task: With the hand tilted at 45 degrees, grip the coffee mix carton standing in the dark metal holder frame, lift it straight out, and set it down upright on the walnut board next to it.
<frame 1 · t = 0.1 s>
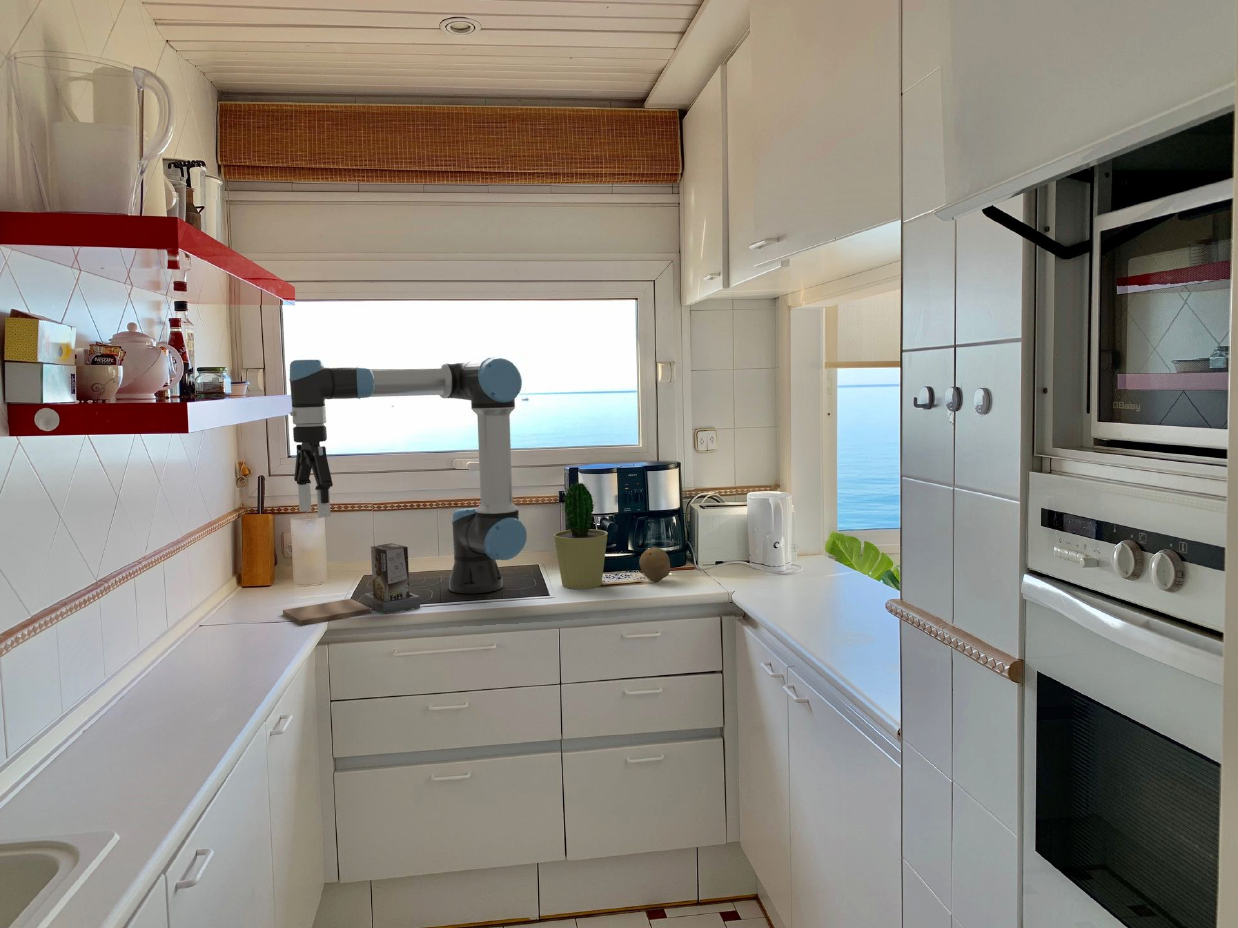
hand: (314, 514, 221), 28 cm above the worktop, tool pointing down, fingers open, 13 cm apart
coconut: (655, 582, 266), on the worktop
holder: (392, 606, 244), on the worktop
coffee box: (392, 607, 244), resting in holder
board: (326, 613, 238), on the worktop
potted cactus: (582, 585, 264), on the worktop
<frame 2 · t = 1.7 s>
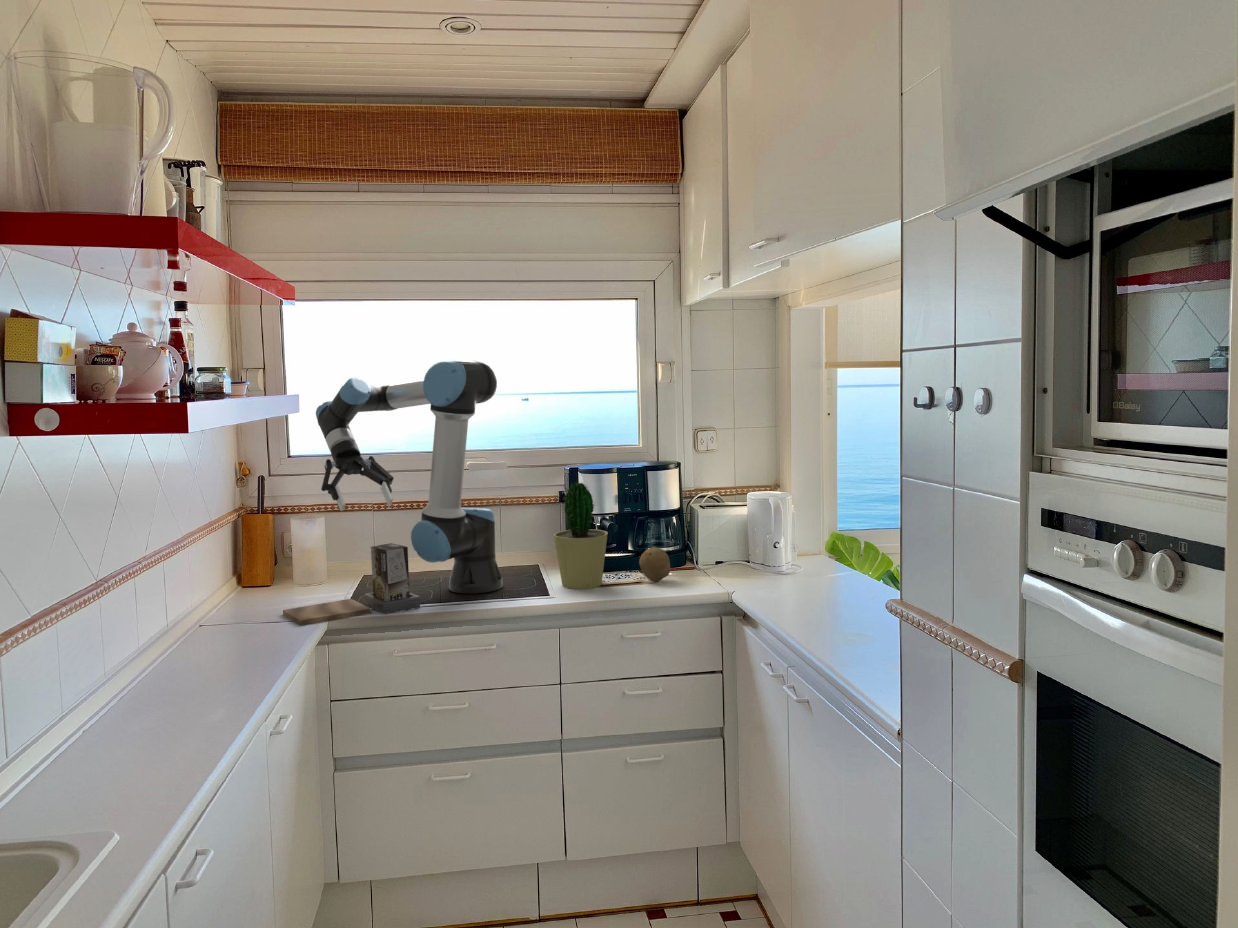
hand: (367, 505, 252), 26 cm above the worktop, tool tilted 45°, fingers open, 13 cm apart
nothing on the worktop moved.
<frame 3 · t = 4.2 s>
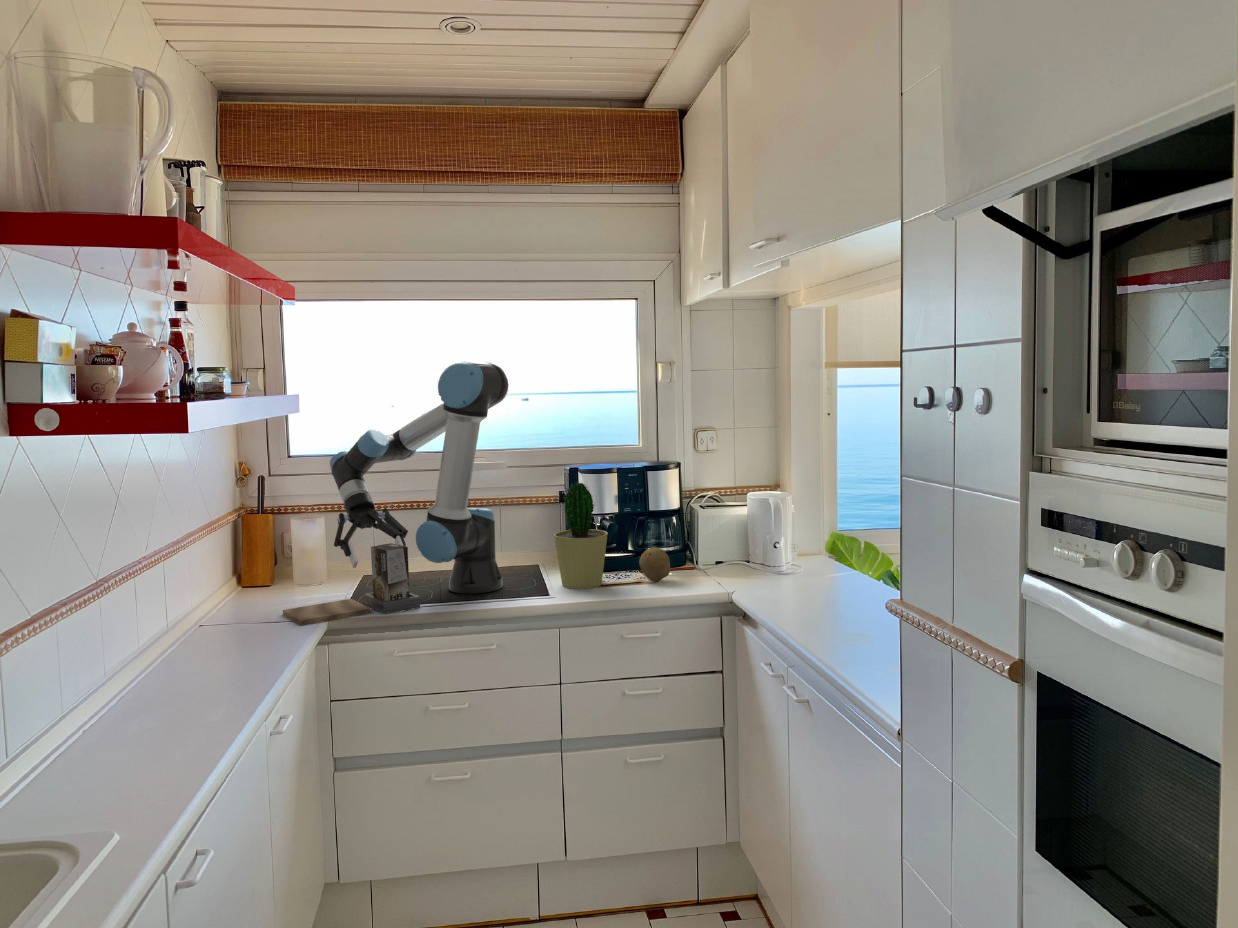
hand: (380, 561, 246), 11 cm above the worktop, tool tilted 45°, fingers open, 13 cm apart
nothing on the worktop moved.
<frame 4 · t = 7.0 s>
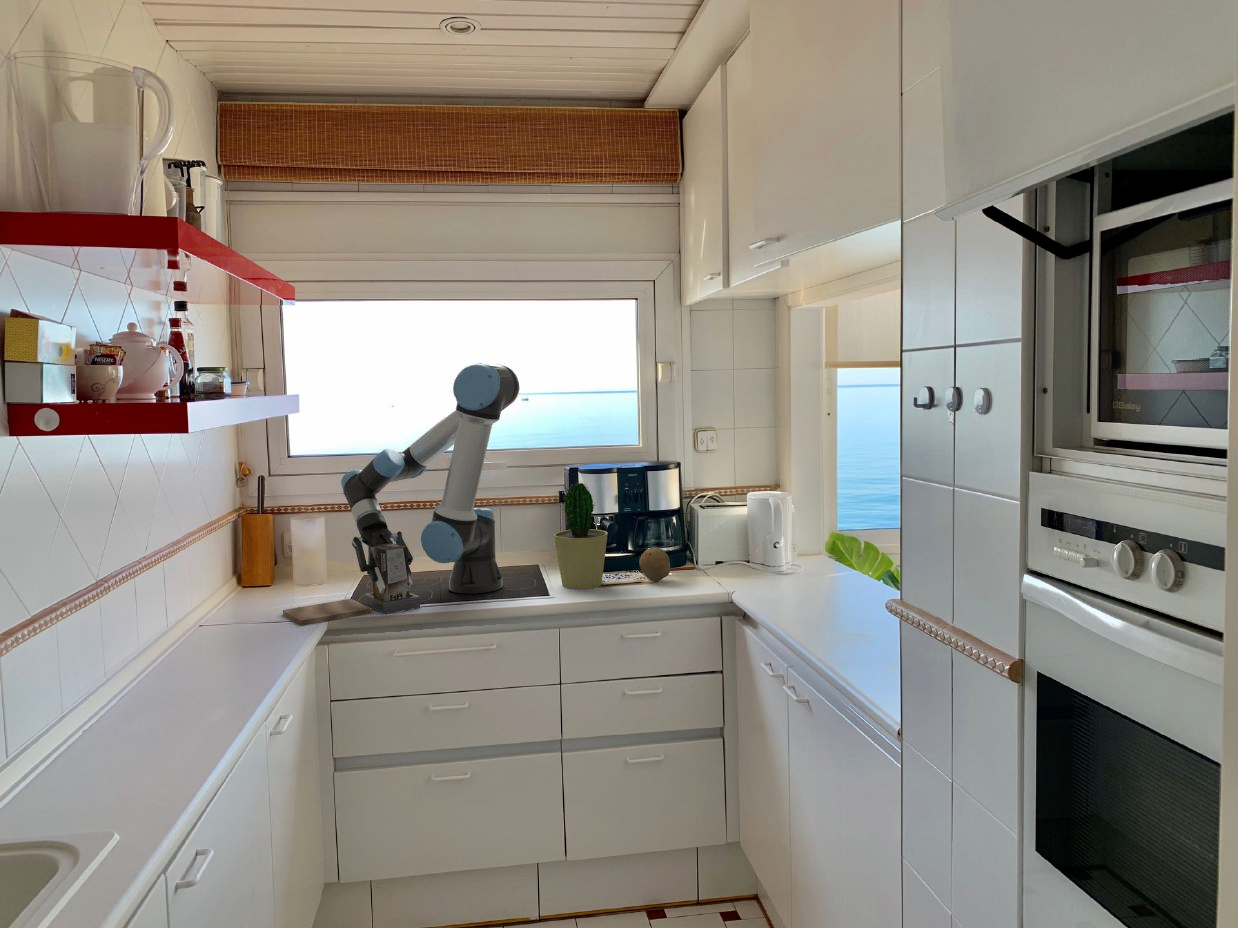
hand: (396, 588, 241), 5 cm above the worktop, tool tilted 45°, fingers closed on coffee box, 7 cm apart
coffee box: (392, 606, 244), resting in holder, touching gripper
everything else where it was.
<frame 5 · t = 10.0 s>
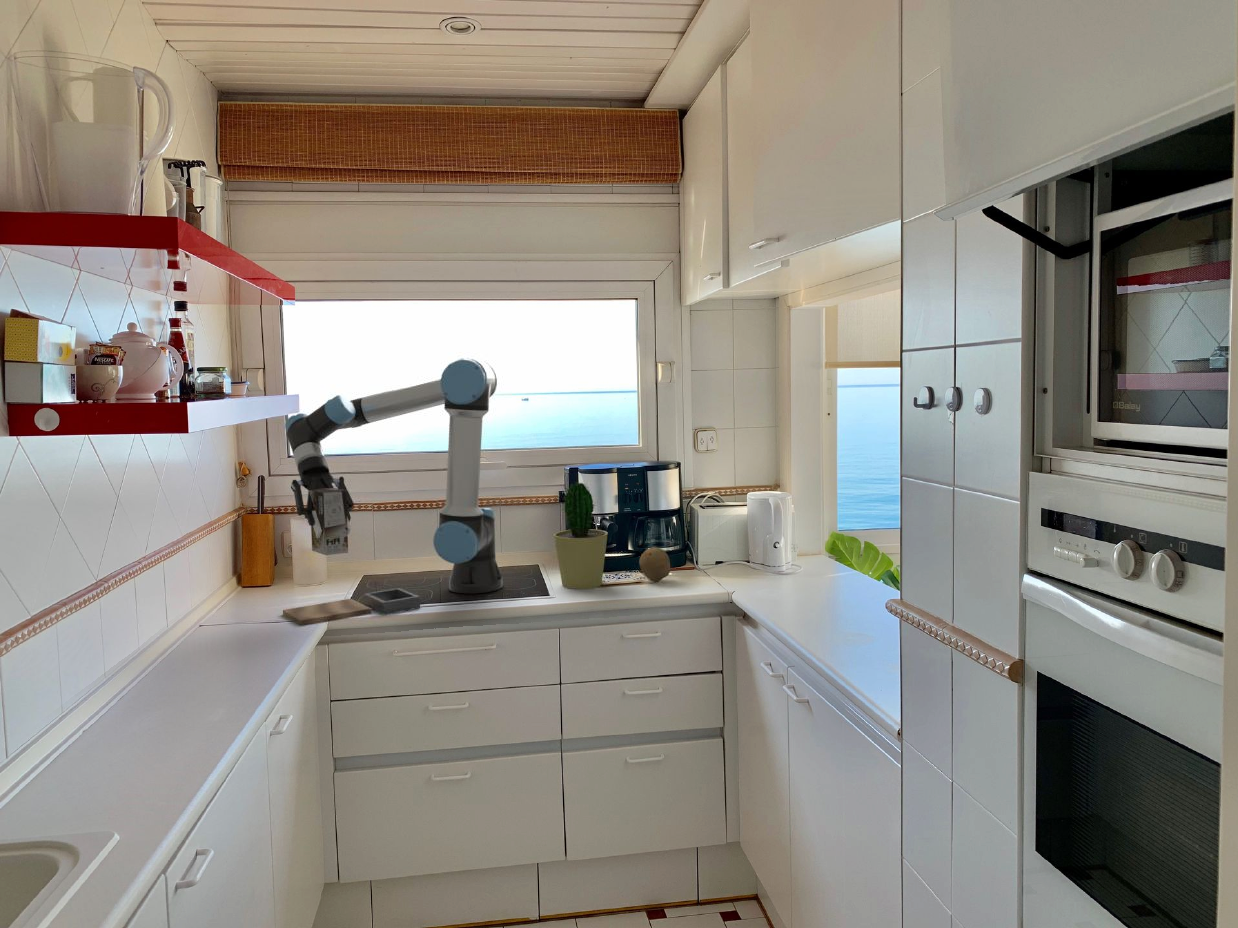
hand: (333, 532, 234), 21 cm above the worktop, tool tilted 45°, fingers closed on coffee box, 7 cm apart
coffee box: (330, 552, 238), point 16 cm above the worktop, touching gripper
everything else where it was.
when the fingers open (8 cm above the worktop, at t = 13.3 s): coffee box drops 1 cm, resting on board.
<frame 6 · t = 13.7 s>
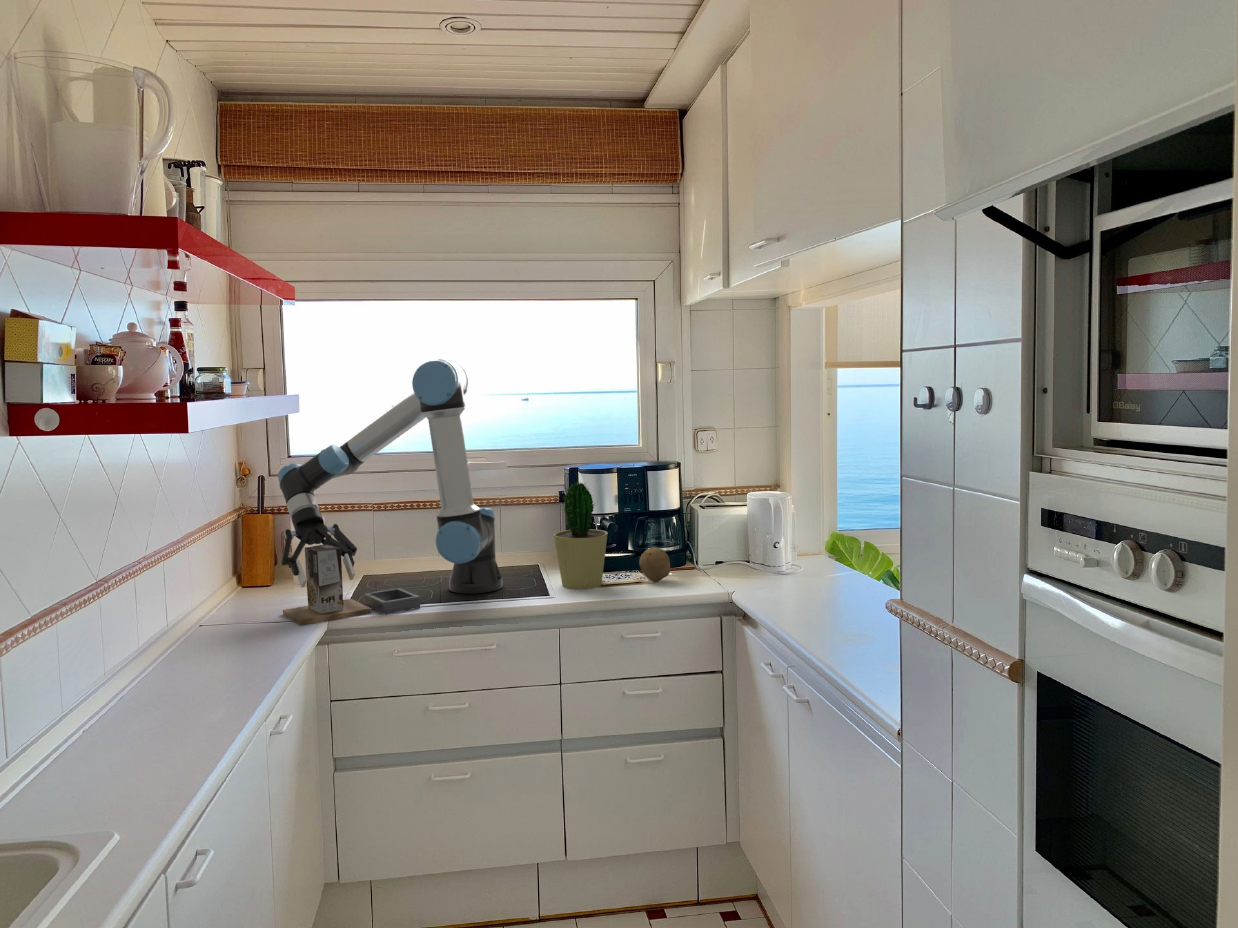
hand: (328, 580, 235), 9 cm above the worktop, tool tilted 45°, fingers open, 12 cm apart
coffee box: (325, 609, 237), point 1 cm above the worktop, touching board
everything else where it was.
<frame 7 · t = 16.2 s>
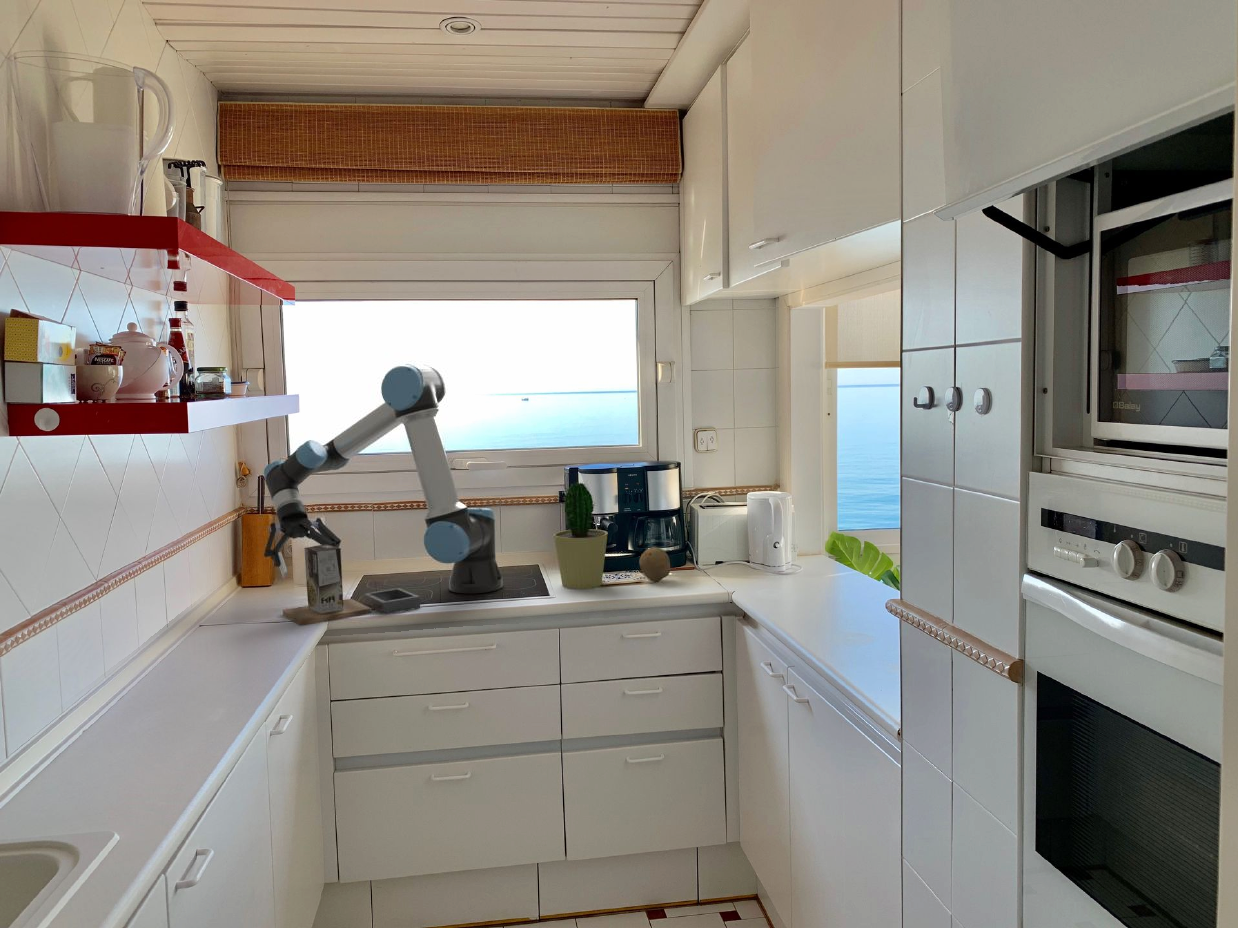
hand: (311, 571, 245), 9 cm above the worktop, tool tilted 45°, fingers open, 13 cm apart
nothing on the worktop moved.
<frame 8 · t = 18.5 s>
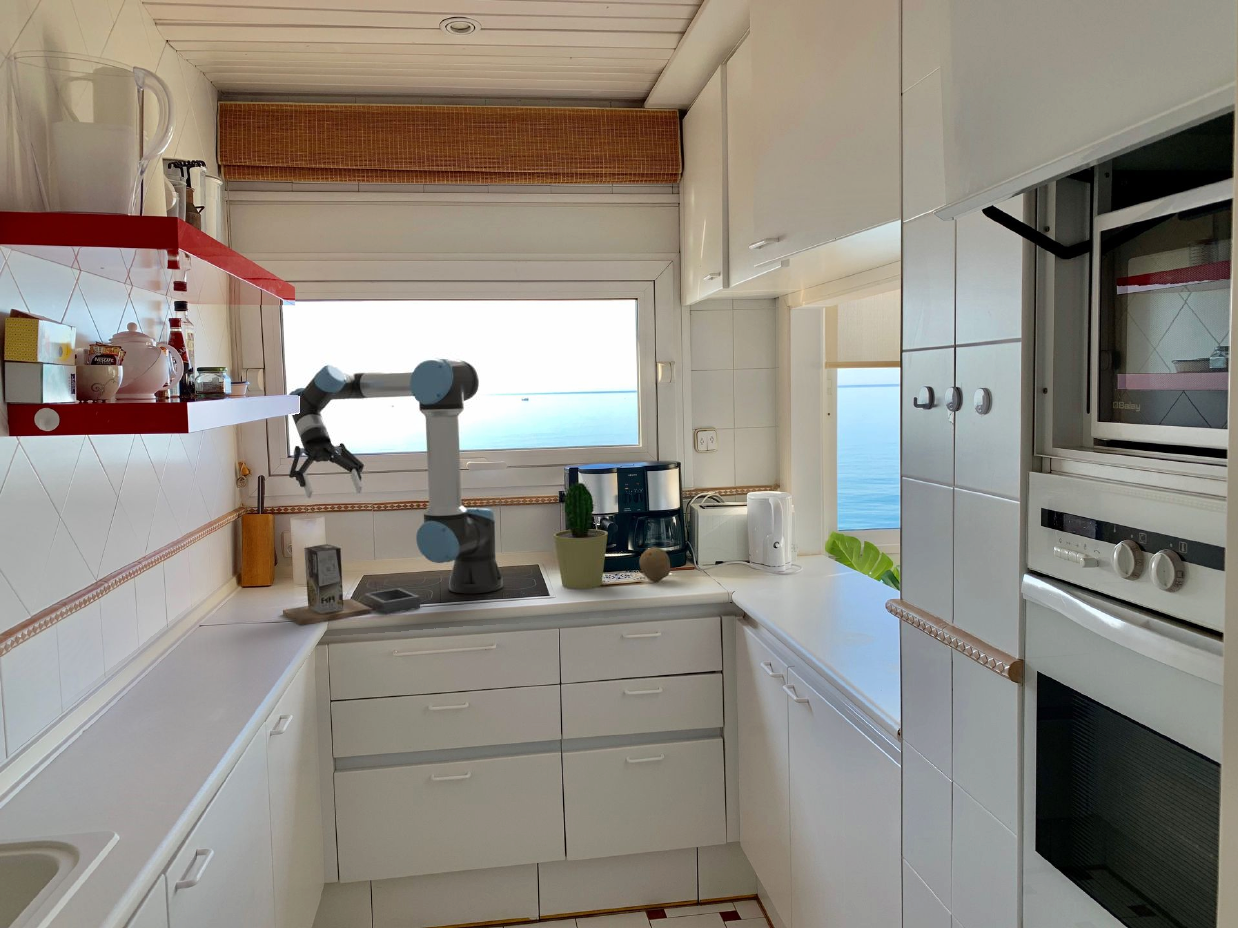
hand: (335, 492, 249), 30 cm above the worktop, tool tilted 45°, fingers open, 13 cm apart
nothing on the worktop moved.
at the end: coffee box inside the target area on the board (0.2 cm from its centre), point 1.0 cm above the board's base; coffee box tilted 0°; the gripper is holding nothing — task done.
